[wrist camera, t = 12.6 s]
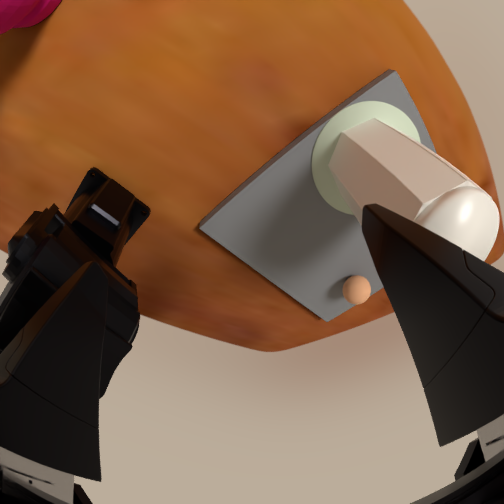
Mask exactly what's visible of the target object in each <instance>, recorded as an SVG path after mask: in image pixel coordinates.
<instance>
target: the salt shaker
mask: <svg viewBox="0 0 504 504" xmlns="http://www.w3.org/2000/svg"><path fill="white" fill-rule="evenodd" d="M328 166H329V168H330V171H331V173H332V175H333V177H334V180H335V182H336V185H337V187H338V189H339V192H340V195H341V196H342V197H343V199H344V200H345V202H346V203H347V205H348V206H349V208H350V209H351V211H352V212H353V214H354V215H355V217H356V218H357V220H358V221H359V223H360V224H361V226H362V211H363V207H364V205H367V204H373V203H376V204H378V205H381V206H383V207H385V208H387V209H389V210H391V211H393V212H395V213H397V214H399V215H401V216H403V217H405V218H407V219H409V220H411V221H413V222H415V223H417V224H419V225H421V226H423V227H425V228H427V229H428V230H430V231H432V232H434V233H436V234H438V235H439V236H441V237H443V238H445V239H447V240H448V241H450V242H452V243H454V244H455V245H457V246H459V247H461V248H462V250H466V251H467V252H469V253H471V254H472V255H474V256H476V257H477V258H479V259H481V260H482V261H484V260H485V259H486V258H487V256H488V254H489V252H490V251H491V249H492V247H493V245H494V242H495V239H496V236H497V233H498V228H499V212H498V209H497V206H496V204H495V203H494V201H493V200H492V197H491V196H490V195H488V194H487V193H486V192H485V191H484V190H483V189H482V188H480V187H479V186H478V185H477V184H476V183H474V182H473V181H472V180H471V179H469V178H468V177H467V176H466V175H464V174H463V173H462V172H461V171H459V170H458V169H457V168H455V167H454V166H453V165H451V164H450V163H449V162H447V161H446V160H444V159H443V158H442V157H440V156H439V155H437V154H436V153H435V152H433V151H432V150H430V149H429V148H427V147H426V146H424V145H423V144H421V143H419V142H418V141H416V140H415V139H413V138H412V137H410V136H408V135H407V134H405V133H403V132H402V131H399V130H397V129H395V128H393V127H391V126H389V125H387V124H386V123H383V122H381V121H380V120H378V119H376V118H372V119H370V120H368V121H365V122H363V123H361V124H358V125H356V126H354V127H352V128H349V129H347V130H345V131H342V133H341V135H340V138H339V140H338V143H337V145H336V147H335V150H334V152H333V155H332V157H331V160H330V162H329V164H328Z"/></svg>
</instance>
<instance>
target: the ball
mask: <svg viewBox="0 0 504 504" xmlns="http://www.w3.org/2000/svg"><path fill="white" fill-rule="evenodd" d="M370 293H371V286H370V283H369V282H368V280H367V279H366V278H364V277H363V276H359V275H355V276H351V277H350V278H348V279H347V280H346V281H345V283H344V285H343V296H344V298H345V299H346V300H347V301H348V302H349V303H351V304H361V303H363V302H365V301H366V300H367V299H368V298H369V296H370Z"/></svg>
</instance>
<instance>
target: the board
mask: <svg viewBox="0 0 504 504" xmlns="http://www.w3.org/2000/svg"><path fill="white" fill-rule="evenodd" d="M372 118H376V119H378V120H380V121H381V122H383V123H386V124H387V125H389V126H391V127H393V128H395V129H397V130H399V131H402V132H403V133H405V134H407V135H408V136H410V137H412V138H413V139H415V140H416V141H418V142H419V143H421V144H423V145H424V146H426V147H427V148H429V149H430V150H432V151H433V152H435V153H436V150H435V148H434V145H433V143H432V141H431V138H430V136H429V134H428V131H427V129H426V127H425V125H424V123H423V120H422V118H421V116H420V114H419V112H418V110H417V108H416V106H415V104H414V102H413V100H412V98H411V96H410V95H409V93H408V91H407V89H406V87H405V85H404V84H403V82H402V80H401V79H400V77H399V75H398V73H397V72H396V71H395V70H390V69H389V70H387V71H386V72H384V73H383V74H382V75H380V76H379V77H377V78H376V79H374V80H373V81H372V82H370V83H369V84H367V85H366V86H364V87H363V88H362V89H360V90H359V91H358V92H356V93H355V94H353V95H352V96H351V97H349V98H348V99H347V100H345V101H344V102H343V103H341V104H340V105H339V106H337V107H336V108H335V109H333V110H332V111H331V112H329V113H328V114H327V115H325V116H324V117H323V118H321V119H320V120H319V121H318V122H316V123H315V124H314V125H312V126H311V127H310V128H309V129H307V130H306V131H305V132H304V133H302V134H301V135H300V136H299V137H297V138H296V139H295V140H294V141H292V142H291V143H290V144H289V145H287V146H286V147H285V148H284V149H283V150H281V151H280V152H279V153H278V154H277V155H275V156H274V157H273V158H272V159H271V160H269V161H268V162H267V163H266V164H265V165H263V166H262V167H261V168H260V169H259V170H257V171H256V172H255V173H254V174H253V175H252V176H251V177H249V178H248V179H247V180H246V181H245V182H244V183H242V184H241V185H240V186H239V187H238V188H237V189H236V190H234V191H233V192H232V193H231V194H230V195H229V196H228V197H227V198H225V199H224V200H223V201H222V202H221V203H220V204H219V205H218V206H217V207H215V208H214V209H213V210H212V211H211V212H210V213H209V214H208V215H207V216H206V217H205V218H203V219H202V220H201V221H200V227H199V229H201V230H202V231H203V232H205V233H206V234H207V235H209V236H210V237H211V238H213V239H214V240H216V241H217V242H218V243H220V244H221V245H222V246H224V247H225V248H226V249H228V250H229V251H230V252H232V253H233V254H234V255H236V256H237V257H238V258H240V259H241V260H242V261H244V262H245V263H247V264H248V265H249V266H251V267H252V268H253V269H255V270H256V271H257V272H259V273H260V274H262V275H263V276H264V277H266V278H267V279H268V280H270V281H271V282H272V283H274V284H275V285H277V286H278V287H279V288H281V289H282V290H283V291H285V292H286V293H288V294H289V295H290V296H292V297H293V298H294V299H296V300H297V301H299V302H300V303H301V304H303V305H304V306H305V307H307V308H308V309H310V310H311V311H312V312H314V313H315V314H316V315H318V316H319V317H321V318H322V319H323V320H325V321H326V322H328V321H330V320H331V319H333V318H335V317H337V316H338V315H340V314H342V313H343V312H345V311H347V310H348V309H350V308H351V307H353V306H355V305H356V304H351V303H349V302H348V301H347V300H346V299H345V298H344V296H343V285H344V283H345V281H346V280H347V279H348V278H350V277H351V276H355V275H359V276H363V277H364V278H366V279H367V280H368V282H369V283H370V286H371V293H370V296H371V295H372V294H374V293H375V292H377V291H378V290H380V289H381V288H383V285H382V282H381V280H380V278H379V276H378V274H377V271H376V269H375V266H374V263H373V260H372V257H371V255H370V252H369V249H368V246H367V244H366V241H365V239H364V236H363V233H362V226H361V224H360V223H359V221H358V220H357V218H356V217H355V215H354V214H353V212H352V211H351V209H350V208H349V206H348V205H347V203H346V202H345V200H344V199H343V197H342V196H341V195H340V192H339V189H338V187H337V185H336V182H335V180H334V177H333V175H332V173H331V171H330V168H329V166H328V164H329V162H330V160H331V157H332V155H333V152H334V150H335V147H336V145H337V143H338V140H339V138H340V135H341V133H342V131H345V130H347V129H349V128H352V127H354V126H356V125H358V124H361V123H363V122H365V121H368V120H370V119H372ZM436 154H437V153H436Z"/></svg>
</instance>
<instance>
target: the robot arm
mask: <svg viewBox="0 0 504 504" xmlns="http://www.w3.org/2000/svg"><path fill="white" fill-rule="evenodd" d="M92 172H94V173H95V176H94V175H92ZM58 209H59V208H58V207H57V206H56V205H55V203H54V204H53V205H52V206H51V207H50V208H49V209H48V208H46V209H45V210H44V211H43V212H40V211H34V212H33V214H32V215H31V216H30V217H29V218H28V220H27V221H26V222H25V223H24V224H23V226H22V227H21V228H20V229H19V230H18V231H17V232H16V234H15V235H14V236H13V237H12V239H11V240H10V241H9V243H8V255H9V258H8V259H7V261H6V263H7V266H6V268H5V269H4V271H3V273H2V275H3V276H4V277H5V278H6V279H7V280H9V282H8V284H7V286H6V287H5V289H4V291H3V292H2V294H1V296H0V504H92V502H91V501H90V499H89V498H88V496H87V495H86V493H85V492H84V490H83V489H82V487H81V485H79V484H76V483H74V475H76V476H79V477H83V478H86V479H91V480H95V481H99V482H101V467H100V452H99V429H98V428H99V399H100V398H101V397H102V396H103V395H104V394H105V392H106V389H107V387H108V384H109V382H110V380H111V377H112V375H113V373H114V371H115V369H116V368H117V366H118V365H119V363H120V362H121V360H122V359H123V358H124V357H125V356H126V354H127V353H128V352H129V351H130V350H131V349H132V342H133V341H134V339H135V337H136V334H137V331H138V328H139V320H140V312H138V302H137V301H138V297H137V289H136V284H135V283H134V282H133V281H132V280H128V279H127V278H126V277H125V276H124V275H123V274H122V273H121V272H120V271H119V270H117V269H116V268H115V267H116V264H117V262H118V259H119V257H120V254H121V252H122V249H123V247H124V245H125V244H126V243H127V242H128V240H129V239H130V238H131V237H132V236H133V234H134V233H135V232H136V231H137V230H138V228H139V227H140V226H141V225H142V224H143V223H144V221H145V220H146V219H147V218H148V217H149V215H150V212H151V210H150V208H149V207H148V206H146V205H145V204H144V203H142V202H141V201H140V200H138V199H137V198H136V197H135V196H134V195H133V194H132V193H130V192H129V191H128V190H126V189H125V188H124V187H122V186H121V185H120V184H119V183H117V182H116V181H115V180H113V179H110V178H109V177H108V176H106V175H105V174H104V173H103V172H101V171H100V170H99V169H97V168H95V167H93V168H91V169H90V170H89V171H88V172H87V174H86V176H85V177H84V179H83V181H82V182H81V184H80V186H79V188H78V189H77V191H76V193H75V195H74V197H73V199H72V200H71V202H70V204H69V206H68V208H67V210H66V212H65V214H64V215H62V213H61V212H60V211H59V210H58ZM142 211H146V212H147V213H143V212H142ZM362 233H363V236H364V239H365V241H366V244H367V246H368V249H369V252H370V255H371V257H372V260H373V263H374V266H375V269H376V271H377V274H378V276H379V278H380V280H381V282H382V285H383V287H384V289H385V291H386V293H387V296H388V298H389V300H390V302H391V305H392V307H393V309H394V311H395V313H396V316H397V318H398V321H399V323H400V326H401V328H402V331H403V333H404V336H405V338H406V341H407V343H408V346H409V348H410V351H411V354H412V356H413V359H414V362H415V365H416V368H417V371H418V373H419V376H420V379H421V382H422V385H423V388H424V392H425V395H426V398H427V402H428V405H429V408H430V412H431V416H432V419H433V422H434V426H435V430H436V434H437V438H438V442H439V445H440V447H441V446H444V445H446V444H448V443H451V442H453V441H455V440H457V439H459V438H462V437H464V436H465V435H468V434H470V433H471V432H473V431H476V430H477V434H478V438H477V439H475V440H474V441H472V442H470V443H469V445H468V447H467V450H466V452H465V454H464V457H463V459H462V461H461V463H460V465H459V467H458V469H457V471H456V473H455V475H454V476H455V480H456V481H455V482H453V483H451V484H450V485H448V486H446V487H444V488H442V489H440V490H438V491H436V492H434V493H432V494H430V495H428V496H426V497H424V498H422V499H419V500H417V501H415V502H413V503H410V504H504V273H503V272H502V271H500V270H498V269H496V268H495V267H493V266H491V265H489V264H487V263H486V262H484V261H482V260H481V259H479V258H477V257H476V256H474V255H472V254H471V253H469V252H467V251H466V250H462V248H461V247H459V246H457V245H455V244H454V243H452V242H450V241H448V240H447V239H445V238H443V237H441V236H439V235H438V234H436V233H434V232H432V231H430V230H428V229H427V228H425V227H423V226H421V225H419V224H417V223H415V222H413V221H411V220H409V219H407V218H405V217H403V216H401V215H399V214H397V213H395V212H393V211H391V210H389V209H387V208H385V207H383V206H381V205H378V204H376V203H373V204H367V205H364V207H363V211H362Z"/></svg>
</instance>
